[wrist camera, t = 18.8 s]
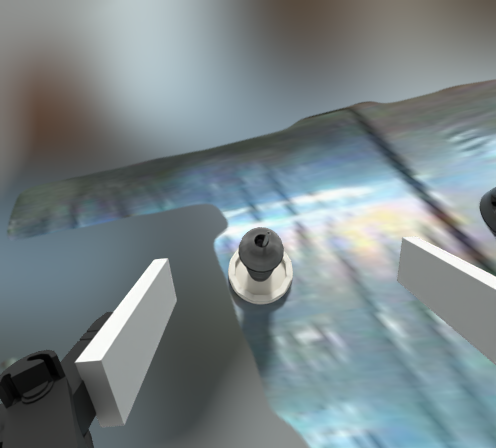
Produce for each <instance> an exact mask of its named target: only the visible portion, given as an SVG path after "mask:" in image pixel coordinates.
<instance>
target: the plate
mask: <svg viewBox="0 0 496 448" xmlns="http://www.w3.org/2000/svg"><path fill="white" fill-rule="evenodd" d="M238 250H239V248H238V249H237V251H236V252H235V254H234V255H233V257H232V258H231V260H230V264H229V269H228V274H229V280H230V283H231V285H232V288H233V289H234V291H235V292H236V293H237V294H238V295H239V296H240V297H241V298H242V299H244V300H245V301H247V302H250V303H253V304H259V305H262V304H269V303H272V302H275V301H277V300H278V299H280V298H281V297H282V296H283V295H284V294H285V293H286V292H287V290H288V288H289V287H290V284H291V281H292V276H293V270H292V264H291V260H290V259H289V257H288V256H287V254H286V253H285V251H284V256H283V259H282V261H281V263H280V264H279V265H278V267H277V268H275V269H274V271H273V272H272V274H271V276H270V277H269V278H268V279H267V280H265V281H263V282H257V281H255V280H253V279H252V278H251V276H250V275H249V273H248V271H247V269H246V267H245V266H244V265H243V263H242V262H241V260H240V258H239V254H238Z"/></svg>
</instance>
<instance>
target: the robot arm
mask: <svg viewBox="0 0 496 448" xmlns="http://www.w3.org/2000/svg"><path fill="white" fill-rule="evenodd" d="M480 210H481V213H482V216H483V218H484V220H485V221H486V223H487V224H488V225H489V226H490V227H491V228H492V229H493V230H494V231H495V232H496V187H495V188H493V189H492V190H490V191H489V192H487V193H486V194H485V195H484V196H483V197H482V199H481V202H480ZM397 281H398V282H399V283H400V284H401V285H403V286H404V287H405V288H406V289H407V290H408V291H410V292H411V293H412V294H413V295H414V296H415V297H417V298H418V299H419V300H420V301H421V302H422V303H424V304H425V305H426V306H427V307H428V308H429V309H431V310H432V311H433V312H434V313H435V314H436V315H438V316H439V317H440V318H441V319H442V320H444V321H445V322H446V323H447V324H448V325H449V326H451V327H452V328H453V329H454V330H455V331H456V332H458V333H459V334H460V335H461V336H462V337H463V338H465V339H466V340H467V341H468V342H469V343H470V344H472V345H473V346H474V347H475V348H476V349H477V350H479V351H480V352H481V353H482V354H483V355H485V356H486V357H487V358H488V359H489V360H490V361H492V362H493V363H494V364H495V365H496V277H495V276H493V275H491V274H489V273H487V272H485V271H483V270H481V269H479V268H477V267H475V266H474V265H472V264H470V263H468V262H466V261H464V260H462V259H460V258H458V257H456V256H454V255H452V254H450V253H448V252H446V251H444V250H442V249H440V248H438V247H436V246H434V245H432V244H430V243H428V242H426V241H424V240H422V239H420V238H418V237H416V236H415V237H403V238H402V245H401V253H400V261H399V269H398V277H397ZM176 301H177V299H176V295H175V290H174V285H173V280H172V276H171V271H170V266H169V261H168V259H157V260H154V261H153V262H152V263H151V265H150V266H149V267H148V268H147V270H146V271H145V272H144V274H143V275H142V276H141V277H140V279H139V280H138V281H137V283H136V284H135V285H134V287H133V288H132V289H131V290H130V292H129V293H128V294H127V296H126V297H125V298H124V299H123V301H122V302H121V303H120V305H119V306H118V308H117V309H116V310H115V311H114V312H107V313H105V314H104V315H103V316H101V317H100V318H99V319H97V320H96V321H95V322H94V323H93V324H92V325H91V326H90V328H89V329H88V330H87V333H85V334H84V335H83V336H82V337H81V338H80V341H78V342H77V343H76V344H75V345H74V347H73V348H72V349H71V350H70V352H69V353H68V354H67V355H66V356H65V357H64V359H63V360H62V361H61V362H60V361H59V359H58V356H57V354H56V353H55V352H54V351H51V350H44V351H38V352H36V353H33V354H30V355H28V356H26V357H24V358H22V359H20V360H18V361H17V362H15V363H14V364H12V365H11V366H10V367H8V368H7V369H6V370H5V371H4V372H3V373H2V374H1V375H0V399H1V401H2V402H3V404H0V448H94V446H93V441H92V437H91V434H90V431H89V427H90V425H91V423H92V421H93V419H94V417H95V416H97V419H98V421H99V424H100V426H101V427H110V426H120V425H124V424H125V422H126V420H127V417H128V415H129V413H130V410H131V408H132V406H133V403H134V401H135V398H136V396H137V394H138V391H139V389H140V386H141V384H142V382H143V379H144V377H145V375H146V372H147V370H148V368H149V365H150V363H151V360H152V358H153V356H154V353H155V351H156V349H157V346H158V344H159V341H160V339H161V337H162V334H163V332H164V329H165V327H166V325H167V322H168V320H169V317H170V315H171V313H172V310H173V308H174V305H175V303H176Z"/></svg>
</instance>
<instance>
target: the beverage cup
mask: <svg viewBox="0 0 496 448" xmlns="http://www.w3.org/2000/svg"><path fill="white" fill-rule="evenodd" d="M238 254H239V258H240V260H241V262H242V263H243V265H244V266H245V267H246V269H247V271H248V273H249V275H250V276H251V278H252V279H253V280H255V281H257V282H263V281H265V280H267V279H268V278H269V277H270V276H271V274H272V272H273V271H274V269H275V268H277V267H278V265H279V264H280V263H281V261H282V259H283V256H284V248H283V245H282V242H281V239H280V238H279V236H278V235H277V234H276V233H275V232H274V231H272V230H271V229H268V228H262V227H258V228H254V229H252V230H250V231H248V232H247V233H246V234H245V235H244V236H243V238H242V240H241V242H240V245H239V250H238Z"/></svg>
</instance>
